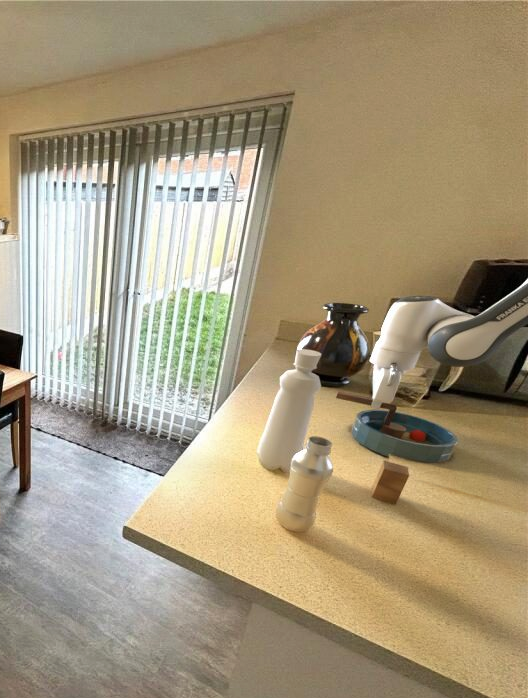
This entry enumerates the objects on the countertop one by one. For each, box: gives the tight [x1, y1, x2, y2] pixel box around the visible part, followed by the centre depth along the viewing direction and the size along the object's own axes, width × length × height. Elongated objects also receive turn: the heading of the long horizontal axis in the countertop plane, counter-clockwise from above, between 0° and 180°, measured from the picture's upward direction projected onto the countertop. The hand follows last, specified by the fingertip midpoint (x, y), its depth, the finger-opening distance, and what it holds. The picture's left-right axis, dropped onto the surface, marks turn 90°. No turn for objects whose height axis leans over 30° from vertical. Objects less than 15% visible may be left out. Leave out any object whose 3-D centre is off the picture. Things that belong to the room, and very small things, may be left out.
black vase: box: [294, 302, 371, 388], centre depth 142 cm, size 22×22×28 cm
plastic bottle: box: [275, 435, 334, 533], centre depth 76 cm, size 6×7×20 cm
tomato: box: [408, 430, 426, 443], centre depth 106 cm, size 3×3×3 cm
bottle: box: [256, 349, 322, 474], centre depth 93 cm, size 9×9×30 cm
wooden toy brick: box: [371, 459, 410, 505], centre depth 86 cm, size 4×4×8 cm
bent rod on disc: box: [335, 390, 406, 440], centre depth 109 cm, size 16×5×9 cm, turn 50°
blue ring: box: [350, 409, 459, 463], centre depth 105 cm, size 20×20×6 cm
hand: (374, 405), depth 107 cm, fingers closed on bent rod on disc
